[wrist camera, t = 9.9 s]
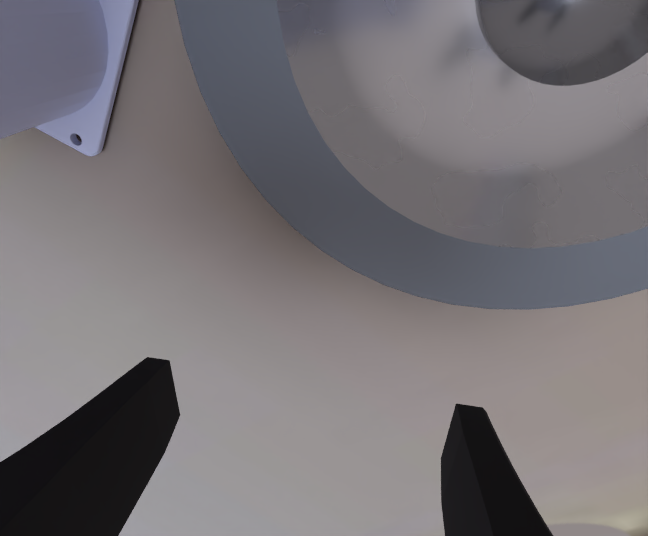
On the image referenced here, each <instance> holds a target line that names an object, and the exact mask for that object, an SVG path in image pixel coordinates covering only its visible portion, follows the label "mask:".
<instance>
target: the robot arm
mask: <svg viewBox="0 0 648 536" xmlns="http://www.w3.org/2000/svg"><path fill="white" fill-rule="evenodd" d="M138 2H139V0H0V139H2V138H4V137H7V136H10V135H13V134H16V133H19V132H21V131H24V130H27V129H30V128H33V127H35V128H37V129H39V130H40V131H42V132H44V133H46V134H48V135H50V136H51V137H53V138H55V139H57V140H59V141H61V142H63V143H64V144H66V145H68V146H70V147H72V148H74V149H75V150H77V151H79V152H81V153H83V154H85V155H87V156H95V155H97V154H99V153H100V152H101V151H102V149H103V145H104V141H105V137H106V132H107V128H108V124H109V120H110V116H111V112H112V108H113V104H114V100H115V96H116V92H117V87H118V83H119V79H120V75H121V71H122V67H123V63H124V59H125V55H126V51H127V47H128V43H129V38H130V34H131V30H132V26H133V22H134V18H135V14H136V10H137V6H138ZM76 134H78V135H79V136H80V137H81V139H82V143H81V142H80V141H78V139H77V138H76ZM179 416H180V412H179V407H178V402H177V397H176V392H175V387H174V382H173V376H172V371H171V366H170V361H169V360H163V359H156V358H149V357H147V358H146V359H144V360H143V361H142V362H140V363H139V364H137V365H136V366H135V367H134V368H132V369H131V370H130V371H128V372H127V373H126V374H124V375H123V376H122V377H120V378H119V379H118V380H117V381H115V382H114V383H113V384H111V385H110V386H109V387H107V388H106V389H105V390H103V391H102V392H101V393H100V394H98V395H97V396H96V397H94V398H93V399H92V400H90V401H89V402H87V403H86V404H85V405H83V406H82V407H81V408H79V409H78V410H77V411H75V412H74V413H73V414H71V415H70V416H69V417H67V418H66V419H64V420H63V421H62V422H60V423H59V424H57V425H56V426H54V427H53V428H51V429H50V430H48V431H47V432H46V433H44V434H43V435H41V436H40V437H38V438H37V439H35V440H34V441H33V442H31V443H30V444H28V445H27V446H25V447H24V448H22V449H21V450H19V451H17V452H16V453H14V454H13V455H11V456H10V457H8V458H6V459H5V460H3V461H2V462H0V536H118V535H119V533H120V532H121V530H122V528H123V526H124V524H125V523H126V521H127V519H128V517H129V516H130V514H131V512H132V510H133V509H134V507H135V505H136V503H137V501H138V500H139V498H140V496H141V494H142V493H143V491H144V489H145V487H146V485H147V484H148V482H149V480H150V478H151V476H152V475H153V473H154V471H155V469H156V467H157V466H158V464H159V462H160V460H161V458H162V456H163V455H164V453H165V450H166V448H167V446H168V443H169V441H170V439H171V436H172V434H173V431H174V429H175V426H176V424H177V421H178V419H179ZM441 502H442V512H443V521H444V529H445V536H553V535H552V533H551V532H550V530H549V528H548V527H547V525H546V524H545V522H544V520H543V519H542V517H541V515H540V514H539V512H538V510H537V509H536V507H535V505H534V503H533V502H532V500H531V498H530V496H529V495H528V493H527V491H526V489H525V488H524V486H523V484H522V482H521V481H520V479H519V477H518V475H517V473H516V471H515V470H514V468H513V466H512V464H511V462H510V460H509V458H508V456H507V454H506V452H505V450H504V448H503V446H502V444H501V442H500V440H499V438H498V436H497V434H496V432H495V430H494V428H493V426H492V424H491V421H490V419H489V417H488V415H487V412H486V411H485V410H484V409H483V408H482V407H475V406H468V405H462V404H456V406H455V410H454V413H453V417H452V421H451V424H450V428H449V431H448V435H447V439H446V442H445V446H444V449H443V453H442V457H441Z"/></svg>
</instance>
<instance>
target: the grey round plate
mask: <svg viewBox="0 0 648 536" xmlns="http://www.w3.org/2000/svg"><path fill="white" fill-rule="evenodd" d="M175 5H176V9H177V14H178V18H179V22H180V27H181V31H182V36H183V40H184V44H185V48H186V51H187V53H188V56H189V59H190V62H191V65H192V68H193V71H194V74H195V77H196V80H197V83H198V86H199V89H200V92H201V94H202V96H203V98H204V100H205V102H206V104H207V107H208V109H209V111H210V113H211V115H212V117H213V119H214V122H215V124H216V126H217V128H218V130H219V132H220V134H221V136H222V137H223V139H224V141H225V142H226V144H227V146H228V147H229V149H230V150H231V152H232V154H233V155H234V157H235V159H236V160H237V162H238V164H239V165H240V167H241V169H242V170H243V171H244V172H245V174H246V175H247V176H248V178H249V179H250V180H251V181H252V183H253V184H254V185H255V187H256V188H257V189H258V190H259V192H260V193H261V194H262V196H263V197H264V198H265V199H266V201H267V202H268V203H269V204H270V205H271V206H272V207H273V208H274V209H275V210H276V211H277V212H278V213H279V214H280V215H281V216H282V217H283V218H284V219H285V220H286V221H287V222H288V223H289V224H290V225H291V226H292V227H293V228H294V229H296V230H297V231H298V232H299V233H300V234H302V235H303V236H304V237H305V238H307V239H308V240H309V241H310V242H312V243H313V244H314V245H315V246H317V247H318V248H319V249H320V250H322V251H323V252H325V253H326V254H328V255H330V256H331V257H333V258H334V259H336V260H338V261H339V262H341V263H342V264H344V265H345V266H347V267H349V268H350V269H352V270H354V271H356V272H358V273H360V274H362V275H364V276H367V277H369V278H371V279H373V280H375V281H377V282H379V283H381V284H383V285H386V286H389V287H392V288H395V289H397V290H400V291H403V292H406V293H409V294H412V295H415V296H418V297H422V298H427V299H431V300H435V301H440V302H444V303H448V304H453V305H461V306H470V307H478V308H487V309H540V308H553V307H565V306H573V305H578V304H584V303H589V302H595V301H601V300H606V299H612V298H615V297H619V296H622V295H626V294H630V293H633V292H637V291H641V290H644V289H648V226H647V227H644V228H642V229H639V230H636V231H633V232H630V233H626V234H623V235H619V236H615V237H611V238H607V239H603V240H599V241H595V242H589V243H582V244H576V245H570V246H563V247H546V248H514V247H498V246H492V245H486V244H480V243H474V242H468V241H465V240H462V239H458V238H455V237H452V236H448V235H445V234H441V233H439V232H436V231H434V230H432V229H430V228H427V227H425V226H423V225H420V224H418V223H416V222H413V221H412V220H410V219H408V218H407V217H405V216H403V215H402V214H400V213H398V212H397V211H395V210H393V209H392V208H390V207H388V206H387V205H386V204H384V203H383V202H382V201H381V200H379V199H378V198H377V197H375V196H374V195H373V194H372V193H370V192H369V191H368V190H367V189H365V188H364V187H363V186H362V185H361V184H360V183H359V182H358V181H357V180H356V179H355V178H354V177H353V176H352V175H351V174H350V173H349V172H348V171H347V169H346V168H345V167H344V166H343V165H342V164H341V162H340V161H339V160H338V158H337V157H336V156H335V154H334V153H333V152H332V151H331V149H330V148H329V147H328V145H327V144H326V143H325V141H324V139H323V138H322V136H321V134H320V132H319V131H318V129H317V127H316V126H315V124H314V122H313V120H312V119H311V117H310V115H309V114H308V111H307V109H306V107H305V104H304V102H303V99H302V97H301V95H300V92H299V90H298V88H297V85H296V83H295V80H294V77H293V74H292V70H291V67H290V64H289V60H288V57H287V53H286V50H285V47H284V42H283V36H282V30H281V24H280V19H279V13H278V7H277V0H175Z"/></svg>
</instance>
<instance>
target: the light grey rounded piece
mask: <svg viewBox="0 0 648 536" xmlns="http://www.w3.org/2000/svg"><path fill="white" fill-rule="evenodd" d="M277 7H278V13H279V19H280V24H281V30H282V36H283V42H284V47H285V50H286V53H287V57H288V60H289V64H290V67H291V70H292V74H293V77H294V80H295V83H296V85H297V88H298V90H299V92H300V95H301V97H302V99H303V102H304V104H305V107H306V109H307V111H308V114H309V115H310V117H311V119H312V120H313V122H314V124H315V126H316V127H317V129H318V131H319V132H320V134H321V136H322V138H323V139H324V141H325V143H326V144H327V145H328V147H329V148H330V149H331V151H332V152H333V153H334V154H335V156H336V157H337V158H338V160H339V161H340V162H341V164H342V165H343V166H344V167H345V168H346V169H347V171H348V172H349V173H350V174H351V175H352V176H353V177H354V178H355V179H356V180H357V181H358V182H359V183H360V184H361V185H362V186H363V187H364V188H365V189H367V190H368V191H369V192H370V193H372V194H373V195H374V196H375V197H377V198H378V199H379V200H381V201H382V202H383V203H384V204H386V205H387V206H388V207H390V208H392V209H393V210H395V211H397V212H398V213H400V214H402V215H403V216H405V217H407V218H408V219H410V220H412V221H413V222H416V223H418V224H420V225H423V226H425V227H427V228H430V229H432V230H434V231H436V232H439V233H441V234H445V235H448V236H452V237H455V238H458V239H462V240H465V241H468V242H474V243H480V244H486V245H492V246H498V247H514V248H546V247H563V246H570V245H576V244H582V243H589V242H595V241H599V240H603V239H607V238H611V237H615V236H619V235H623V234H626V233H630V232H633V231H636V230H639V229H642V228H644V227H647V226H648V0H277Z"/></svg>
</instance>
